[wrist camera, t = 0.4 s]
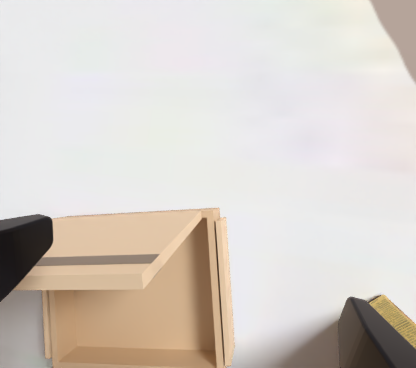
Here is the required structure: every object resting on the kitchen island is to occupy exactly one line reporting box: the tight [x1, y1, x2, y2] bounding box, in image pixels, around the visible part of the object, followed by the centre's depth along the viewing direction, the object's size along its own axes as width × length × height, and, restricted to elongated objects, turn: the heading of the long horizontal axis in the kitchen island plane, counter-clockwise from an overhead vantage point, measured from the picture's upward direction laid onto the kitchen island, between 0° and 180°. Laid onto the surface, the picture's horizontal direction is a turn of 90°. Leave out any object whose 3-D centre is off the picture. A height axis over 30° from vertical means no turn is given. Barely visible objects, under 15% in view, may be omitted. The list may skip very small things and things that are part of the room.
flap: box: [13, 211, 202, 290], centre depth 18 cm, size 1×12×11 cm, turn 93°
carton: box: [42, 208, 235, 368], centre depth 25 cm, size 13×15×3 cm
